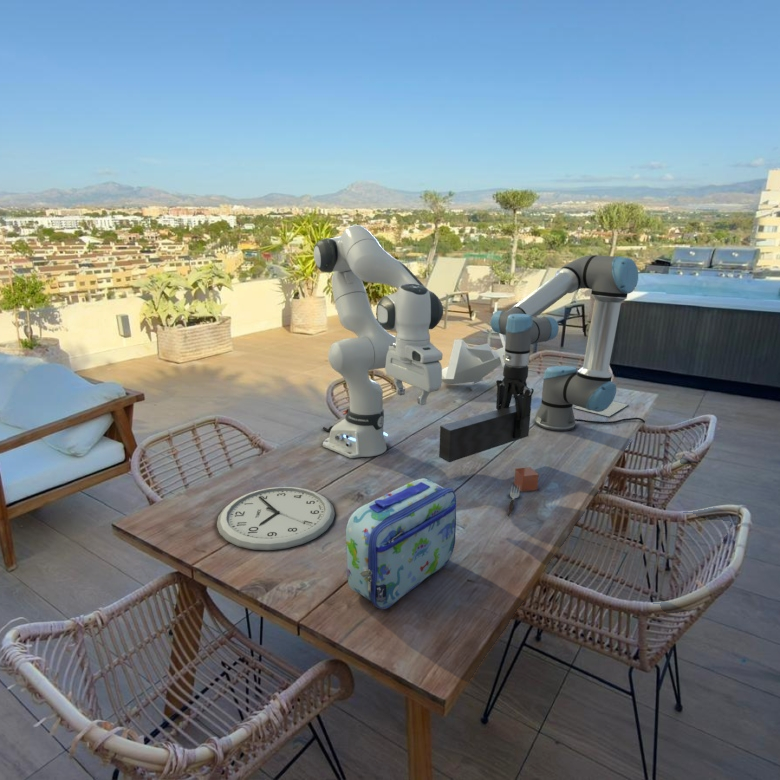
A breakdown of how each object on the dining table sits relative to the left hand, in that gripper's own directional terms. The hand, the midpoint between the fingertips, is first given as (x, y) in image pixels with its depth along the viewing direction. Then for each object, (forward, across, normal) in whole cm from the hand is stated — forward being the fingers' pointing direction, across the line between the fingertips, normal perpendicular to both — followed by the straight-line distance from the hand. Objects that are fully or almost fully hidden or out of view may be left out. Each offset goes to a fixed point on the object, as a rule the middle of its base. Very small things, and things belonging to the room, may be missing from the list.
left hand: (410, 399), depth 140 cm
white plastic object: (+29, -61, +87) cm, 110 cm away
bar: (+21, 0, +30) cm, 37 cm away
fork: (+29, +19, +22) cm, 41 cm away
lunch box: (+29, +29, -23) cm, 47 cm away
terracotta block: (+29, +14, +33) cm, 46 cm away
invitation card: (+29, -18, +117) cm, 122 cm away
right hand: (+19, 0, +41) cm, 45 cm away
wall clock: (+29, -10, -35) cm, 47 cm away
